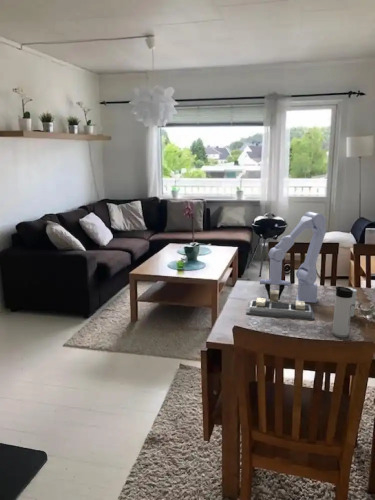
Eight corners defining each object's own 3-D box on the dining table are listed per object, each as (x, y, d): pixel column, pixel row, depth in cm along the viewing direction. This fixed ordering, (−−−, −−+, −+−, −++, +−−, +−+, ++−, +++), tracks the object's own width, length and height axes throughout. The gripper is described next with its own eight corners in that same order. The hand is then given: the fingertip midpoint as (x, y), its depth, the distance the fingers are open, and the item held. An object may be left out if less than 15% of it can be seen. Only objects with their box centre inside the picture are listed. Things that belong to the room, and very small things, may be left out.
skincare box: (340, 315, 188) (342, 289, 185) (339, 311, 192) (341, 287, 189) (354, 317, 186) (357, 291, 183) (353, 313, 190) (356, 288, 187)
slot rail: (312, 309, 194) (313, 299, 193) (314, 320, 182) (315, 309, 181) (248, 304, 201) (248, 294, 200) (246, 314, 189) (246, 303, 187)
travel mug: (328, 331, 170) (332, 285, 166) (344, 331, 171) (348, 284, 166) (335, 338, 164) (339, 290, 160) (351, 337, 165) (356, 289, 160)
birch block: (278, 300, 206) (278, 290, 205) (278, 304, 200) (278, 294, 199) (270, 299, 207) (270, 289, 206) (269, 303, 201) (270, 293, 200)
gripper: (259, 273, 198) (258, 300, 201) (291, 275, 195) (289, 302, 198) (260, 269, 205) (259, 295, 208) (290, 271, 201) (289, 298, 204)
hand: (274, 298), depth 203 cm, fingers closed on birch block, 4 cm apart
